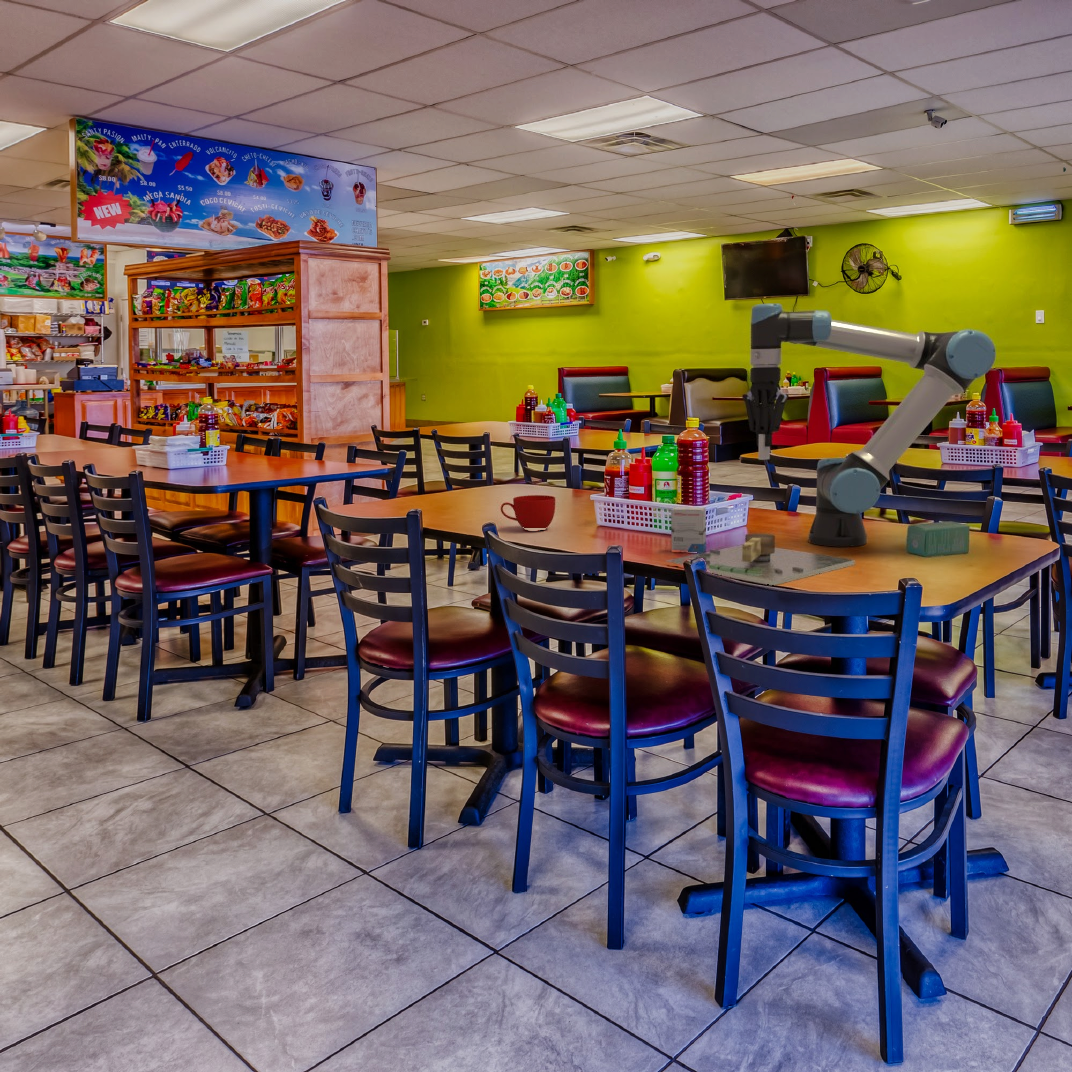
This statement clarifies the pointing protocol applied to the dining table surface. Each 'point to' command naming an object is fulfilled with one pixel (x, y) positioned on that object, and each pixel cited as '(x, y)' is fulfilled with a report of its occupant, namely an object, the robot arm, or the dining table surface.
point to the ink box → (688, 529)
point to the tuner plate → (768, 564)
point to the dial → (757, 546)
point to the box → (938, 539)
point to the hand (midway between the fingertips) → (764, 459)
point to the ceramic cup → (532, 510)
